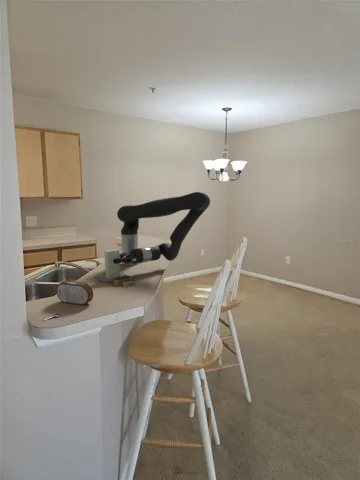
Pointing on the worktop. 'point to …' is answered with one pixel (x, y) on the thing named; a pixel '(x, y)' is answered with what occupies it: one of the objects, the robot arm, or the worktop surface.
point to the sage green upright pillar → (110, 267)
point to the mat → (104, 279)
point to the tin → (74, 292)
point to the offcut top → (128, 283)
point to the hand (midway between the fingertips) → (110, 259)
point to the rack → (120, 280)
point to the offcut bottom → (128, 286)
